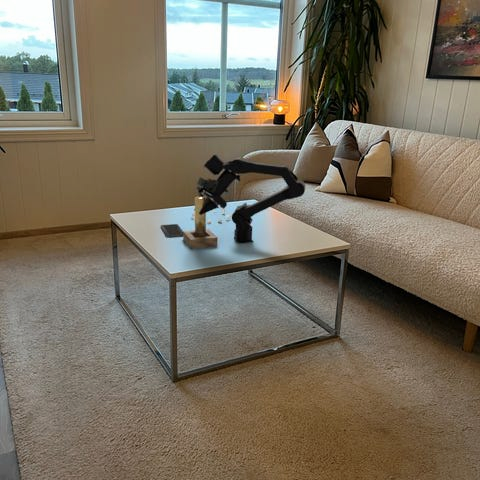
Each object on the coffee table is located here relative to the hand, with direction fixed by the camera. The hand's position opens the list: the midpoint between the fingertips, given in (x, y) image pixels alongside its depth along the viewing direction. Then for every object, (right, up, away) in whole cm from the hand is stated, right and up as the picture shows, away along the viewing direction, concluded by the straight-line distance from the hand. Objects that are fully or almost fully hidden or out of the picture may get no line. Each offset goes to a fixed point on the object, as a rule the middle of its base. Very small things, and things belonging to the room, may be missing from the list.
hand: (197, 212), depth 187 cm
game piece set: (+3, -1, +39) cm, 39 cm away
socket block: (+1, -12, +5) cm, 13 cm away
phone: (-12, -8, +17) cm, 23 cm away
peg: (+1, -7, +3) cm, 8 cm away
